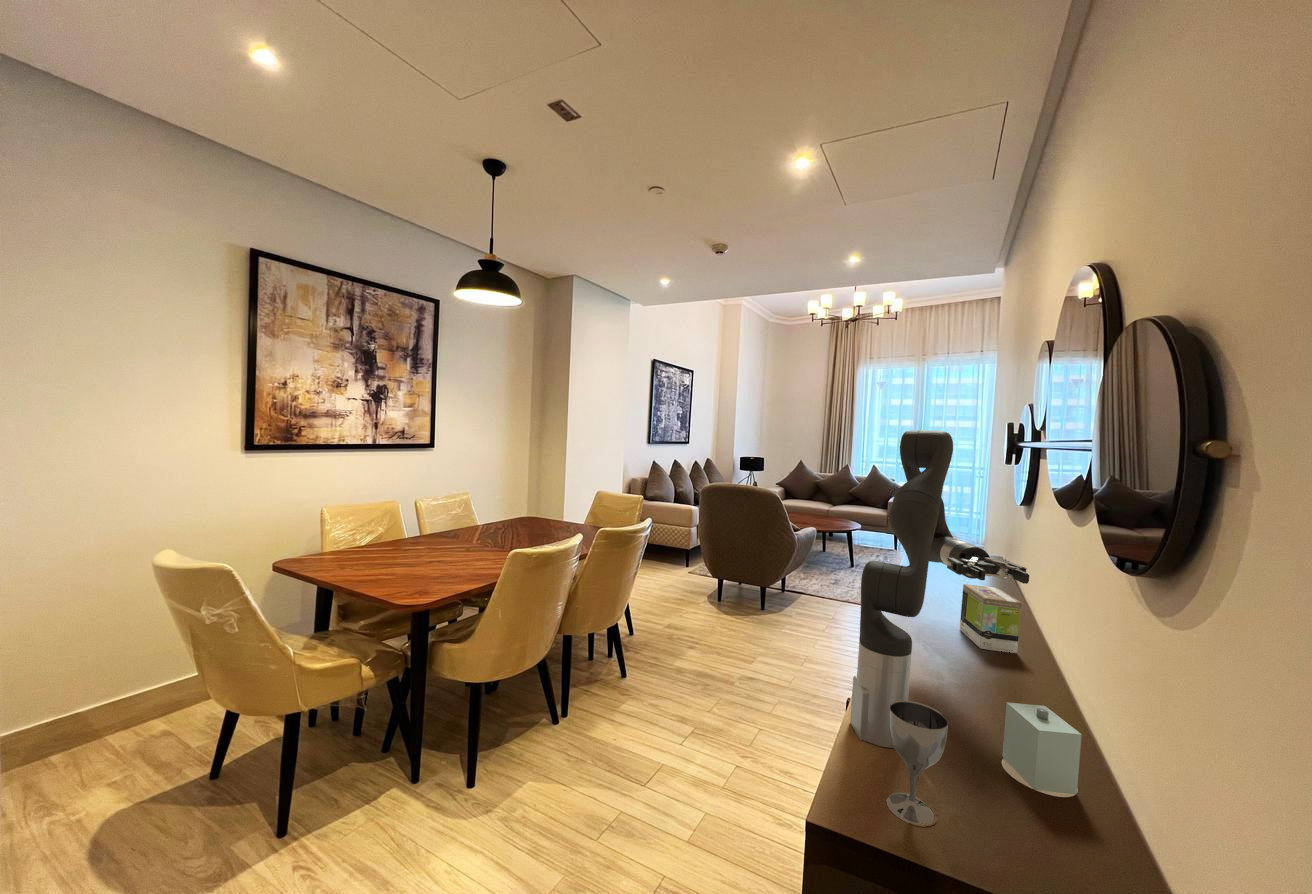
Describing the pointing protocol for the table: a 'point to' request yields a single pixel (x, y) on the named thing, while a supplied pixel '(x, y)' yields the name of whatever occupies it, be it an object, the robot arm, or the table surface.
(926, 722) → the wine glass
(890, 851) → the table surface
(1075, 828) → the table surface
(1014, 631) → the tea box
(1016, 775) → the plate
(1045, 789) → the cloche
